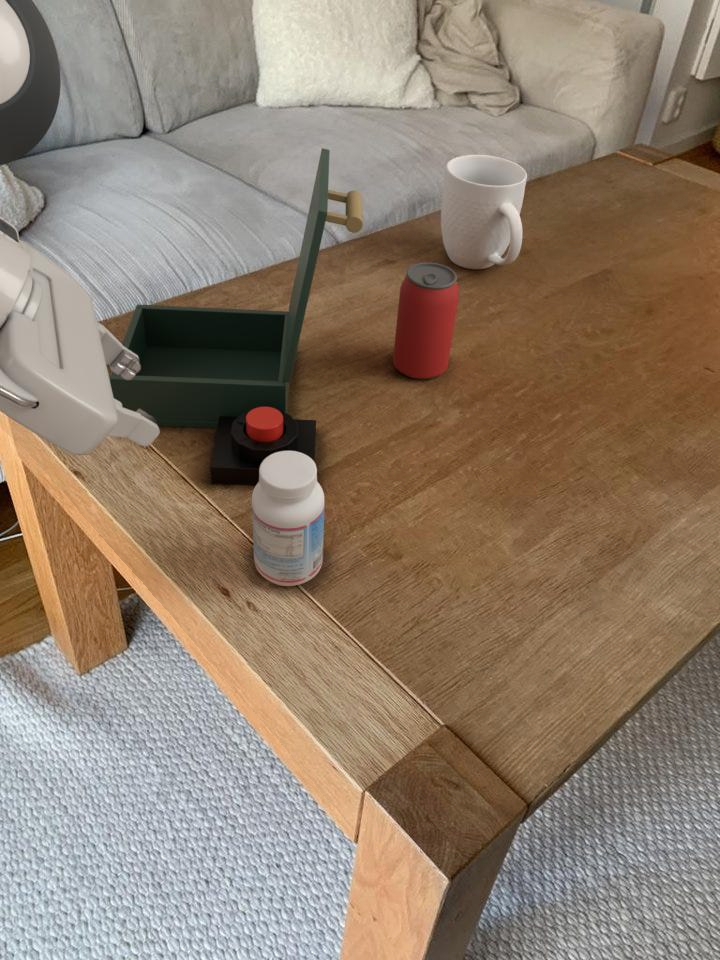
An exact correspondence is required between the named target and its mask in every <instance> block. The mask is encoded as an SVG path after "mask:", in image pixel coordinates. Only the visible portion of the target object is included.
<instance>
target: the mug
mask: <svg viewBox="0 0 720 960" xmlns="http://www.w3.org/2000/svg"><path fill="white" fill-rule="evenodd" d="M527 179H528V173H527V171H526V170H525V169H524V168H523V167H522V166H521V165H520V164H518V163H516V162H514V161H511V160H509V159H506V158H502V157H499V156H495V155H488V154H466V155H460V156H457V157H454V158H452V159H450V160H449V161H448V162H447V163H446V166H445V173H444V180H443V186H442V195H441V201H440V202H441V204H440V207H441V208H440V229H441V238H442V243H443V246H444V249H445V252H446V254H447V257H448V258H449V260H450V261H451V262H452V263H453V264H454V265H456V266H458V267H461V268H464V269H468V270H485V269H488V268H490V267H492V266H494V265H498V266H507V265H510V264H512V263H513V262H515V261H516V260H517V258H518V256H519V255H520V252H521V248H522V243H523V224H522V219H521V216H520V214H521V211H522V207H523V203H524V202H523V201H524V197H525V191H526V186H527ZM507 249H508V251H507V253H506V255H505V257H504V258H503V255H504V254H505V252H506V250H507Z"/></svg>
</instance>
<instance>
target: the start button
mask: <svg viewBox="0 0 720 960" xmlns="http://www.w3.org/2000/svg"><path fill="white" fill-rule="evenodd" d="M246 432H247V435H248V437H249V438H250V439H252V440H255V441H257V442H271V441H274V440H278V439H279V438H280V437H281V436H282V434H283V415H282V414H281V412H280V411H278V410H277V409H275V408H272V407H258V408H255V409H252V410H251V411H249V412H248V414H247V416H246Z"/></svg>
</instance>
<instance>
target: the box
mask: <svg viewBox="0 0 720 960" xmlns="http://www.w3.org/2000/svg"><path fill="white" fill-rule="evenodd" d="M288 313H289V310H287V311H286V310H265V309H264V310H263V309H243V308H242V309H241V308H223V307H222V308H220V307H202V306H199V307H198V306H179V305H178V306H177V305H160V304H159V305H158V304H157V305H156V304H136V305H135V308H134V311H133V314H132V317H131V319H130V322H129V324H128V327H127V331H126V333H125V336H124V338H123V342H122V343H121V344H122V345H123V346H124V347H126V348H127V349H129V350H130V351H132V352H133V353H135V354H136V355H138V357H139V360H140V364H141V370H140V371H139V372H138V373H136V375H135V377H134V378H133V379H132V380H125V379H123V378H122V377H121V376H119V375H117V374H115V373H114V372H112V371H111V374H110V375H109V379H110V384H111V388H112V393H113V397H114V398H115V399H116V400H118V401H120V402H121V403H122V407H123V408H126V409H129V410H132V411H134V412H136V411H137V410H138V409H139V408H140V409H141V410H143V411H145V412H146V413H148V414H149V415H151V416H153V417H155V419H156V421H157V424H158V427H176V428H177V427H179V428H201V429H202V428H203V429H204V428H205V429H217V426H218V420H219V416H226V417H239V416H240V415H241V414H242V413H245V412H248V411H251V410H252V409H255V408H258V407H272V408H275V409H277V410H279V411H282V412H284V413H287V414H288V409H289V408H288V407H289V397H290V396H289V395H290V385H291V382H290V383H287V382H282V375H283V365H284V355H285V344H286V334H287V324H288Z"/></svg>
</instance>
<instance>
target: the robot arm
mask: <svg viewBox="0 0 720 960" xmlns="http://www.w3.org/2000/svg"><path fill="white" fill-rule="evenodd" d="M54 41H55V40H54V38H53V36H52V33H51V31H50V28H49V26H48V24H47V22H46V20H45V18H44V16H43V14H42V13H41V11H40V10H39V8H38V7H37V5H36V4H35V2H34V1H33V0H0V167H1V166H4V165H7V164H10V163H12V162H15V161H17V160H19V159H20V158H23V157H24V156H25V155H27V154H29V152H30V151H33V149H35V147H37V145H38V144H39V143H41V141H42V140H43V139H44V137H45V136H46V135H47V133H48V131H49V130H50V128H51V126H52V124H53V123H54V122H53V121H54V119H55V116H56V114H57V111H58V106H59V102H60V96H61V86H62V85H61V84H62V83H61V82H62V81H61V68H60V61H59V56H58V52H57V51H58V50H57V48H56V44H55V42H54ZM122 344H123V343H121V342H120V341H119V340H118V339H117V337H116V336H115V335H114V334H113V333H112V332H111V331H109V329H107V327H106V326H104V325H103V324H102V323H100V322H98V321H97V316H96V312H95V307H94V302H93V297H92V296H91V294H90V293H89V291H88V290H87V289H86V288H85V286H83V285H82V284H81V283H80V281H78V280H77V279H76V278H75V277H73V276H72V275H71V274H70V273H68V272H67V271H66V270H64V269H63V268H62V267H61V266H59V265H58V264H57V263H55V262H54V261H53V260H51V259H50V258H49V257H47V256H46V255H45V254H43V253H42V252H41V251H40V250H38V249H37V248H35V247H34V246H32V245H31V244H30V243H28V242H26V241H24V240H21V239H20V234H19V231H18V229H17V227H15V225H13V224H12V223H10V222H9V221H8V220H7V219H5V218H3V217H2V216H0V412H1V413H2V414H4V415H5V416H6V417H8V418H9V419H11V420H12V421H14V422H15V423H17V424H19V425H20V426H22V427H23V428H25V429H26V430H29V431H30V432H32V433H33V434H35V435H37V436H38V437H40V438H41V439H43V440H45V441H47V442H49V443H50V444H52V445H54V446H55V447H56V448H59V449H61V450H62V451H64V452H66V453H68V454H71V455H75V456H88V455H90V454H92V453H93V452H94V451H95V450H96V449H97V448H98V447H99V445H101V444H102V442H104V440H105V439H106V438H107V437H113V438H121V439H123V438H124V439H128V440H130V441H131V442H133V443H135V444H137V445H139V446H141V447H145V448H146V447H149V446H151V444H152V443H154V441H155V440H156V439H157V438H158V437H159V435H160V432H161V431H160V426H158V424H157V421H156V419H155V417H153V416H151V415H149V414H148V413H146V412H145V411H143V410H141V409H140V408H139V409H138V410H137V411H136V412H134V411H132V410H129V409H126V408H123V407H122V403H121V402H120V401H118V400H116V399H115V398H114V397H113V393H112V388H111V384H110V374H109V371H108V370H109V369H110V372H111V373H112V372H114V373H115V374H117V375H119V376H121V377H122V378H123V379H125V380H132V379H133V378H134V377H135V375H136V373H138V372H139V371H140V370H141V364H140V360H139V357H138V355H136V354H135V353H133V352H132V351H130V350H129V349H127V348H126V347H124V346H123V345H122ZM108 366H109V369H108Z"/></svg>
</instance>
